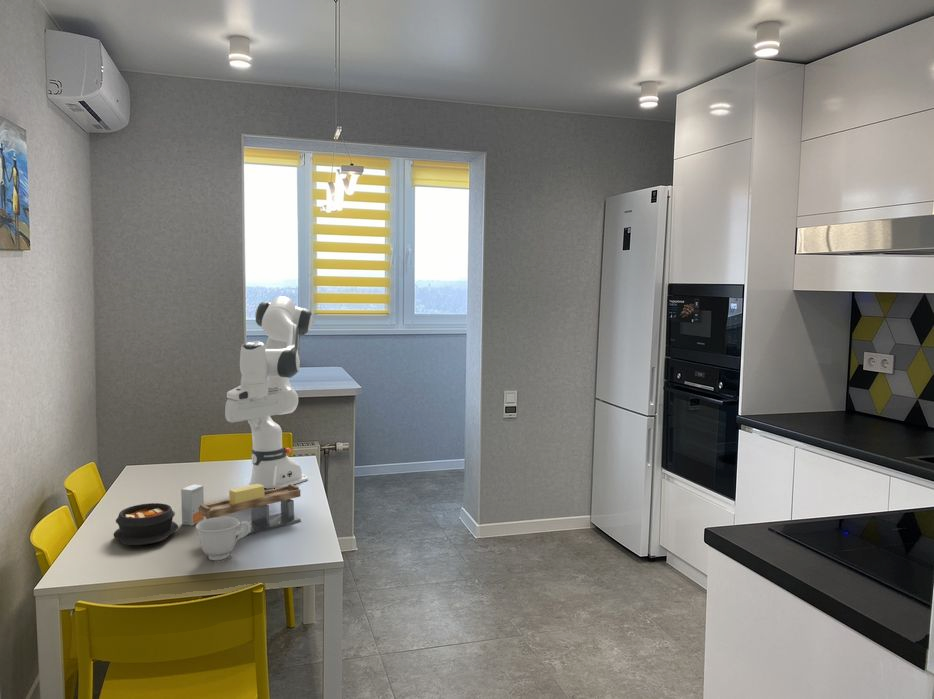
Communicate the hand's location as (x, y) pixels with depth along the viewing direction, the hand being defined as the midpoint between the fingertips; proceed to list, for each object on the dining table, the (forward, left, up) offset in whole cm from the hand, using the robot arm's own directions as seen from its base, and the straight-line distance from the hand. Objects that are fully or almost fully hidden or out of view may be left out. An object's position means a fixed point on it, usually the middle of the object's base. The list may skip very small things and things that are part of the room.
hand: (256, 430), depth 241 cm
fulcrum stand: (+7, +9, -30) cm, 32 cm away
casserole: (+34, -8, -30) cm, 46 cm away
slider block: (+9, +10, -20) cm, 24 cm away
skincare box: (+18, -10, -30) cm, 36 cm away
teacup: (+24, +24, -30) cm, 46 cm away
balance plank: (+7, +9, -22) cm, 25 cm away
